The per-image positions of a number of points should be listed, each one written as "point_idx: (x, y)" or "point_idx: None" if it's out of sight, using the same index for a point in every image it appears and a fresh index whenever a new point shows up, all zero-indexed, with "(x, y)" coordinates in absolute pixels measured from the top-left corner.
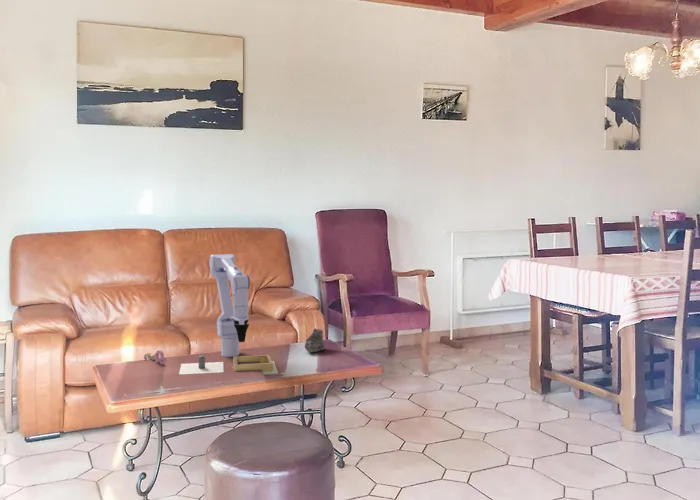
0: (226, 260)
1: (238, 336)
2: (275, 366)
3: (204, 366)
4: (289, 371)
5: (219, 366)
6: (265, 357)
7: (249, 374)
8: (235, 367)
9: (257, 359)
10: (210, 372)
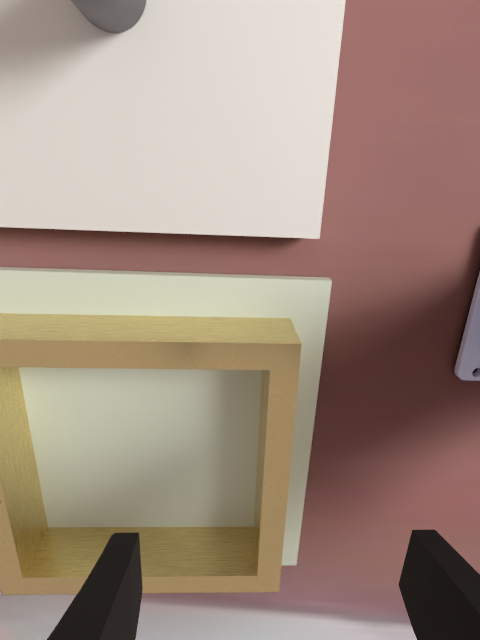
0: None
1: (62, 626)
2: None
3: (85, 16)
4: (63, 607)
5: (145, 195)
6: (256, 557)
7: None
8: None
9: (258, 500)
10: None
